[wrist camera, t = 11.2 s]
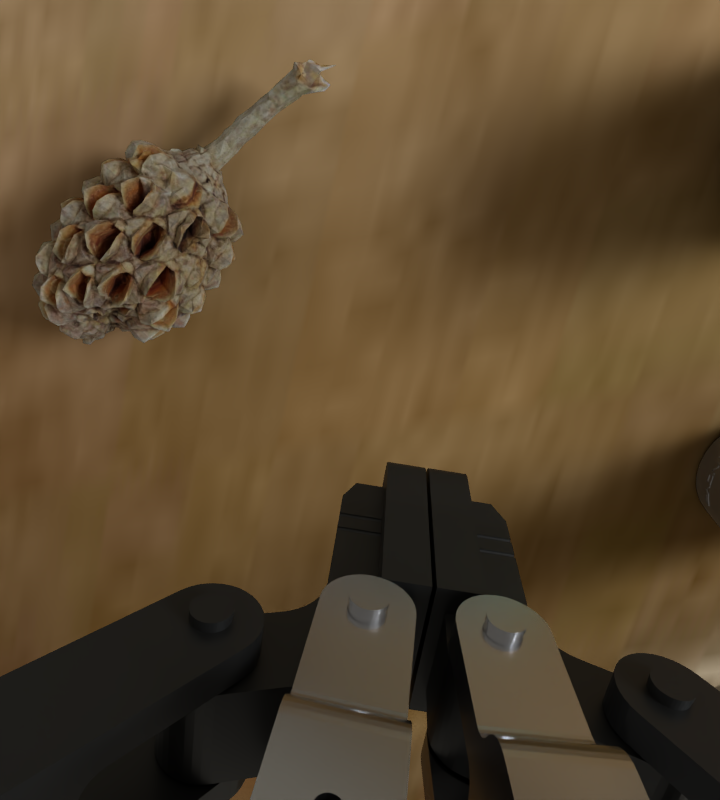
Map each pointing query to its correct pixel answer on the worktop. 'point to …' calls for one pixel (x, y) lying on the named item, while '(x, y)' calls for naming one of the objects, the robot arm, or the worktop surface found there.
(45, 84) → the worktop surface
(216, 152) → the pine cone
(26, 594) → the worktop surface
